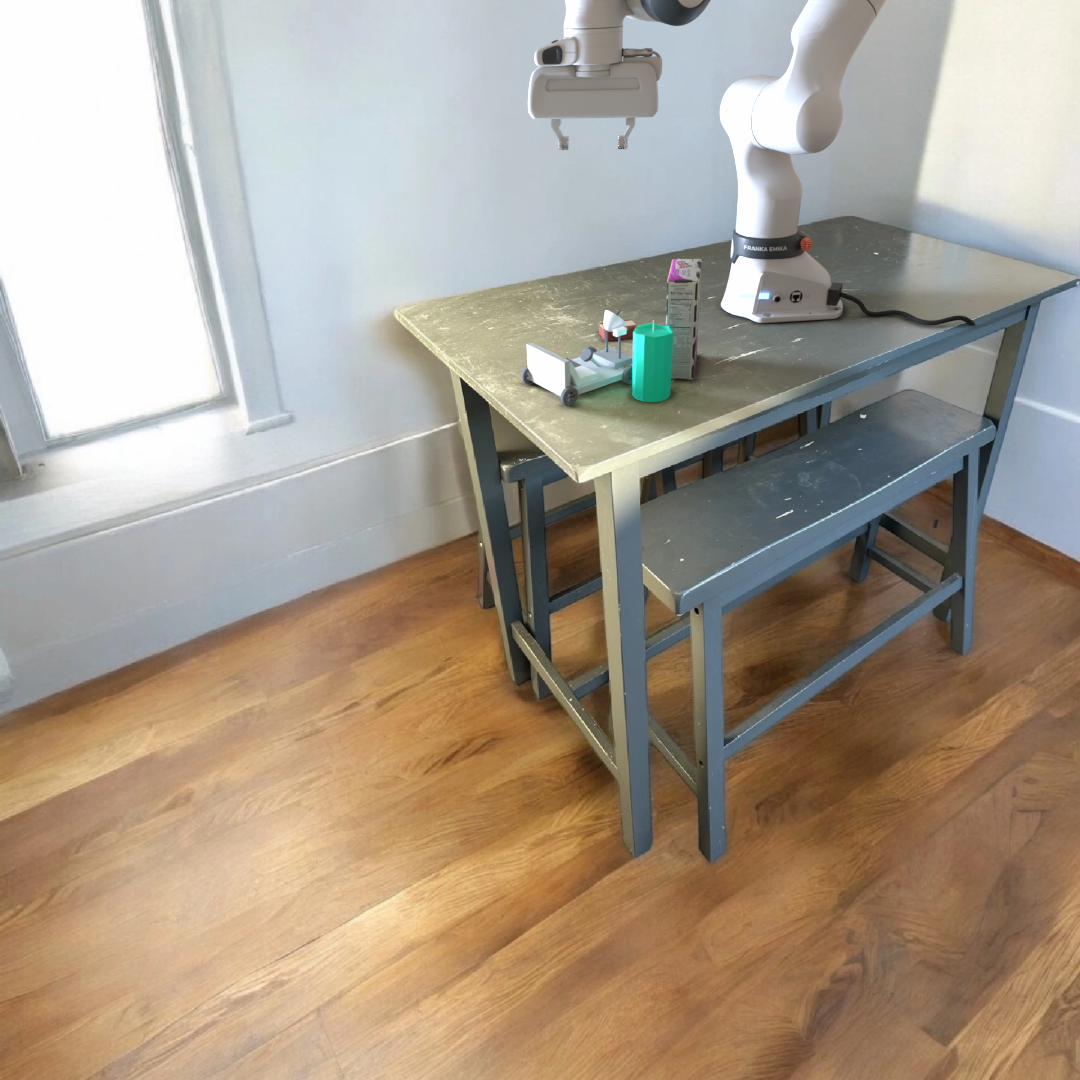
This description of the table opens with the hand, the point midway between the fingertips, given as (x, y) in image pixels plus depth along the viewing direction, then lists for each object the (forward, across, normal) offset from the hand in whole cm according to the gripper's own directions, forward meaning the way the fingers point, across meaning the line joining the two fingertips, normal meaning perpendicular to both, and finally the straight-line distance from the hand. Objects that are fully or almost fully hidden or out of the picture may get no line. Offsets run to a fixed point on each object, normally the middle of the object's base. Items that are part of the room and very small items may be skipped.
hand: (593, 149), depth 136 cm
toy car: (+32, 0, +18) cm, 37 cm away
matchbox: (+32, -4, -2) cm, 32 cm away
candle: (+32, -11, +23) cm, 41 cm away
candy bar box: (+32, -16, +12) cm, 37 cm away
